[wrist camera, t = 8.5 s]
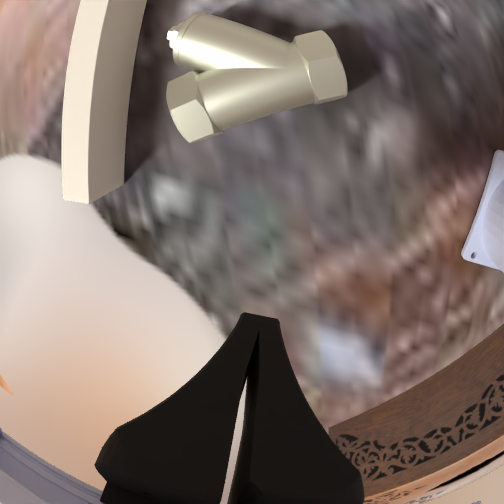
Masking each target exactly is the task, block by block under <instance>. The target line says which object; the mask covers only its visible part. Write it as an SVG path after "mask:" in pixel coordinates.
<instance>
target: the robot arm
mask: <svg viewBox="0 0 504 504" xmlns="http://www.w3.org/2000/svg"><path fill="white" fill-rule="evenodd" d="M473 252H474V254H473V255H472V256H471V254H472V253H473ZM461 255H462V257H463V258H464V259H465V260H467V261H471V262H474V263H478V264H481V265H485V266H488V267H491V268H495V269H498V270H501V271H502V272H503V273H504V151H502V150H497V151H496V152H495V154H494V157H493V161H492V165H491V169H490V172H489V176H488V179H487V183H486V186H485V189H484V192H483V196H482V199H481V202H480V205H479V208H478V210H477V213H476V216H475V219H474V221H473V224H472V227H471V229H470V232H469V234H468V237H467V239H466V242H465V244H464V247H463V249H462V252H461ZM246 379H247V386H246V398H245V411H244V421H243V430H242V436H241V441H240V447H239V451H238V456H237V462H236V466H235V471H234V476H233V480H232V485H231V489H230V494H229V498H228V503H227V504H363V503H364V501H365V497H364V486H363V481H362V477H361V473H360V471H359V470H358V469H357V468H356V467H355V466H354V465H353V464H352V463H351V462H350V461H349V460H348V459H347V458H346V456H345V455H344V454H343V453H342V452H341V451H340V449H339V448H338V447H337V446H336V444H335V443H334V442H333V441H332V439H331V438H330V437H329V435H328V434H327V432H326V431H325V429H324V428H323V426H322V425H321V424H320V422H319V421H318V419H317V418H316V416H315V414H314V413H313V411H312V409H311V407H310V406H309V404H308V402H307V400H306V398H305V396H304V394H303V392H302V390H301V388H300V386H299V384H298V381H297V379H296V377H295V374H294V372H293V369H292V367H291V364H290V361H289V358H288V355H287V352H286V349H285V346H284V342H283V338H282V334H281V329H280V322H279V321H278V319H275V318H270V317H265V316H260V315H255V314H250V313H245V312H244V313H242V314H241V316H240V318H239V320H238V322H237V324H236V326H235V328H234V329H233V331H232V332H231V334H230V335H229V337H228V338H227V339H226V341H225V342H224V344H223V345H222V346H221V348H220V349H219V350H218V351H217V352H216V354H215V355H214V356H213V357H212V358H211V359H210V360H209V361H208V363H207V364H206V365H205V366H204V367H203V368H202V369H201V370H200V371H199V372H198V373H197V374H196V375H195V376H194V377H193V378H191V379H190V380H189V381H188V382H187V383H186V384H185V385H184V386H182V387H181V388H180V389H179V390H177V391H176V392H175V393H174V394H172V395H171V396H170V397H168V398H167V399H166V400H164V401H162V402H161V403H159V404H158V405H156V406H155V407H153V408H152V409H150V410H149V411H147V412H146V413H144V414H142V415H140V416H139V417H137V418H135V419H133V420H131V421H129V422H127V423H125V424H123V425H121V426H119V427H117V429H115V431H114V432H113V433H112V434H111V435H110V437H109V438H108V440H107V441H106V443H105V444H104V446H103V447H102V449H101V451H100V454H99V456H98V458H97V461H96V463H95V467H96V469H97V471H98V472H99V473H100V474H101V475H102V476H103V478H104V479H105V480H106V481H107V483H106V486H105V488H104V491H101V490H99V489H97V488H95V487H93V486H90V485H88V484H86V483H84V482H82V481H80V480H78V479H76V478H74V477H73V476H71V475H69V474H67V473H65V472H63V471H62V470H60V469H58V468H56V467H55V466H53V465H51V464H50V463H48V462H46V461H45V460H43V459H41V458H40V457H38V456H37V455H35V454H34V453H32V452H31V451H29V450H28V449H26V448H25V447H23V446H22V445H20V444H19V443H18V442H16V441H15V440H14V439H12V438H11V437H10V436H8V435H7V434H6V433H4V432H3V431H2V429H1V428H0V503H1V504H220V502H221V498H222V493H223V489H224V484H225V479H226V473H227V468H228V462H229V457H230V451H231V445H232V440H233V434H234V429H235V423H236V418H237V412H238V407H239V402H240V398H241V395H242V392H243V389H244V385H245V382H246ZM473 504H481V501H478V502H475V503H473Z"/></svg>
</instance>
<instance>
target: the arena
mask: <svg viewBox="0 0 504 504" xmlns="http://www.w3.org/2000/svg"><path fill="white" fill-rule="evenodd" d="M146 3H147V0H81V2H80V6H79V10H78V14H77V18H76V23H75V27H74V32H73V37H72V42H71V47H70V53H69V60H68V66H67V74H66V82H65V92H64V103H63V118H62V186H63V200H67V201H73V202H79V203H85V204H90V203H92V202H94V201H95V200H97V199H99V198H100V197H102V196H104V195H106V194H107V193H109V192H111V191H113V190H115V189H116V188H118V187H120V186H122V185H124V163H125V144H126V129H127V118H128V107H129V98H130V90H131V82H132V75H133V68H134V62H135V56H136V50H137V44H138V39H139V34H140V29H141V24H142V20H143V15H144V11H145V7H146Z"/></svg>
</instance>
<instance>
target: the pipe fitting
mask: <svg viewBox="0 0 504 504" xmlns="http://www.w3.org/2000/svg"><path fill="white" fill-rule="evenodd" d="M167 39H168V40H170V47H171V48H172V49H173V60H174V62H175V63H176V64H177V65H178V66H181V67H184V68H187V69H190V70H193V71H191V72H189V73H187V74H184V75H182V76H180V77H178V78H176V79H174V80H171V81H169V82H168V85H167V92H166V98H167V104H168V108H169V111H170V114H171V117H172V119H173V121H174V123H175V125H176V127H177V129H178V130H179V132H180V133H181V135H182V136H183V137H184V138H185V139H186V140H187V141H188V142H189V143H195V142H200V141H203V140H206V139H209V138H211V137H214V136H217V135H219V134H222V133H224V130H226V129H229V128H232V127H235V126H238V125H241V124H244V123H247V122H250V121H253V120H256V119H259V118H262V117H265V116H268V115H272V114H275V113H278V112H282V111H285V110H289V109H292V108H296V107H300V106H303V105H307V104H311V103H315V104H321V103H325V102H329V101H333V100H338V99H341V98H344V97H346V96H347V94H348V86H347V80H346V75H345V71H344V67H343V64H342V61H341V59H340V56H339V54H338V51H337V49H336V47H335V45H334V43H333V42H332V40H331V39H330V37H329V36H328V35H327V34H326V33H325V32H324V31H322V30H320V31H315V32H311V33H306V34H302V35H298V36H295V37H294V39H293V42H291V43H289V42H287V41H285V40H282V39H280V38H278V37H275V36H273V35H270V34H268V33H265V32H262V31H260V30H257V29H254V28H252V27H249V26H246V25H243V24H240V23H237V22H234V21H231V20H228V19H225V18H221V17H218V16H214V15H211V14H208V13H204V12H198V13H195V14H193V15H192V16H191V17H189V18H188V19H187V20H184V21H182V22H181V23H180V24H178V25H177V26H173V27H172V28H171V29H170V30H169V32H168V34H167ZM194 71H195V72H194Z"/></svg>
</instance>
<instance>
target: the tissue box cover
mask: <svg viewBox="0 0 504 504" xmlns="http://www.w3.org/2000/svg"><path fill="white" fill-rule="evenodd" d="M329 437H330V438H331V439H332V441H333V442H334V443H335V444H336V446H337V447H338V448H339V449H340V451H341V452H342V453H343V454H344V455H345V456H346V458H347V459H348V460H349V461H350V462H351V463H352V464H353V465H354V466H355V467H356V468H357V469H358V470H359V471H360V473H361V477H362V481H363V486H364V497H365V501H364V503H363V504H423V503H426V502H429V501H431V500H434V499H436V498H439V497H441V496H443V495H446V494H448V493H450V492H452V491H455V490H457V489H459V488H461V487H463V486H465V485H467V484H469V483H471V482H473V481H475V480H477V479H479V478H481V477H483V476H485V475H487V474H488V473H490V472H492V471H494V470H495V469H497V468H499V467H500V466H502V465H504V324H503V325H502V326H501V327H499V328H498V329H497V330H496V331H495V332H493V333H492V334H491V335H490V336H488V337H487V338H486V339H484V340H483V341H482V342H481V343H479V344H478V345H477V346H475V347H474V348H472V349H471V350H470V351H468V352H467V353H466V354H464V355H463V356H461V357H460V358H458V359H457V360H456V361H454V362H453V363H451V364H450V365H448V366H447V367H445V368H444V369H442V370H440V371H439V372H437V373H436V374H434V375H433V376H431V377H429V378H428V379H426V380H424V381H423V382H421V383H419V384H418V385H416V386H414V387H412V388H411V389H409V390H407V391H405V392H404V393H402V394H400V395H398V396H396V397H394V398H392V399H390V400H389V401H387V402H385V403H383V404H381V405H379V406H377V407H375V408H373V409H370V410H368V411H366V412H364V413H362V414H360V415H358V416H355V417H353V418H351V419H349V420H346V421H344V422H342V423H339V424H337V425H334V426H332V427H329Z"/></svg>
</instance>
